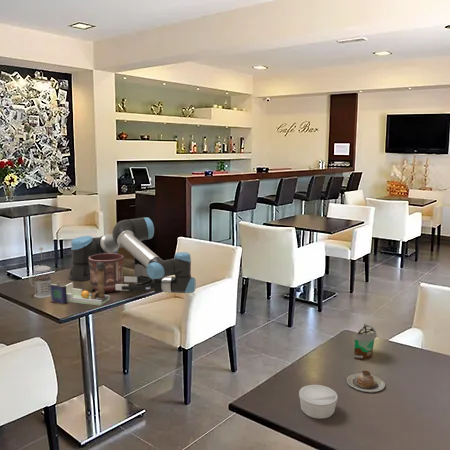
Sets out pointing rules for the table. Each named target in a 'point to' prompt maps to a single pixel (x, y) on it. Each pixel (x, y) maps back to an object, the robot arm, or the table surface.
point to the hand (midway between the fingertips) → (120, 283)
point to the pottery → (107, 270)
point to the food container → (364, 343)
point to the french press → (45, 280)
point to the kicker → (100, 283)
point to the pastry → (365, 381)
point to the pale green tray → (75, 297)
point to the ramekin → (318, 401)
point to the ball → (85, 294)
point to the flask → (58, 293)
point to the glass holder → (140, 270)
